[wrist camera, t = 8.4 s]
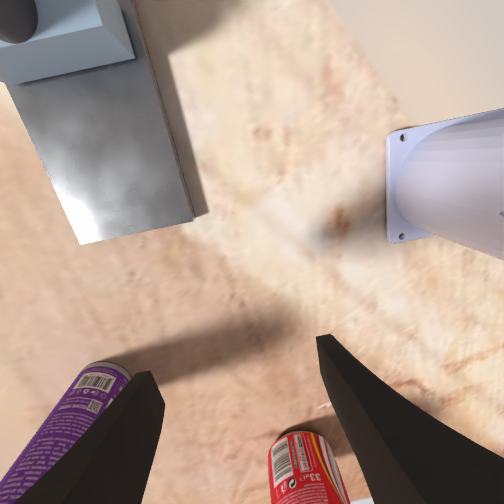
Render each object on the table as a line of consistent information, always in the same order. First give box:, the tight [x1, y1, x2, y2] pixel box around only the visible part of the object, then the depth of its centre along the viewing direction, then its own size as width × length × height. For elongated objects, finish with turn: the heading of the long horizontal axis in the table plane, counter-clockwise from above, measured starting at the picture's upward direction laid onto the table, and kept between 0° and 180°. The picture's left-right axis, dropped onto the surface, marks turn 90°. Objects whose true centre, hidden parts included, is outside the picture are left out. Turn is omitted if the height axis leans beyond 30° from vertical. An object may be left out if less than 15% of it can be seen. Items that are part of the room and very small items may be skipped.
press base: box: [5, 0, 195, 245], centre depth 12 cm, size 8×20×5 cm, turn 11°
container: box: [0, 362, 131, 504], centre depth 16 cm, size 5×5×15 cm
